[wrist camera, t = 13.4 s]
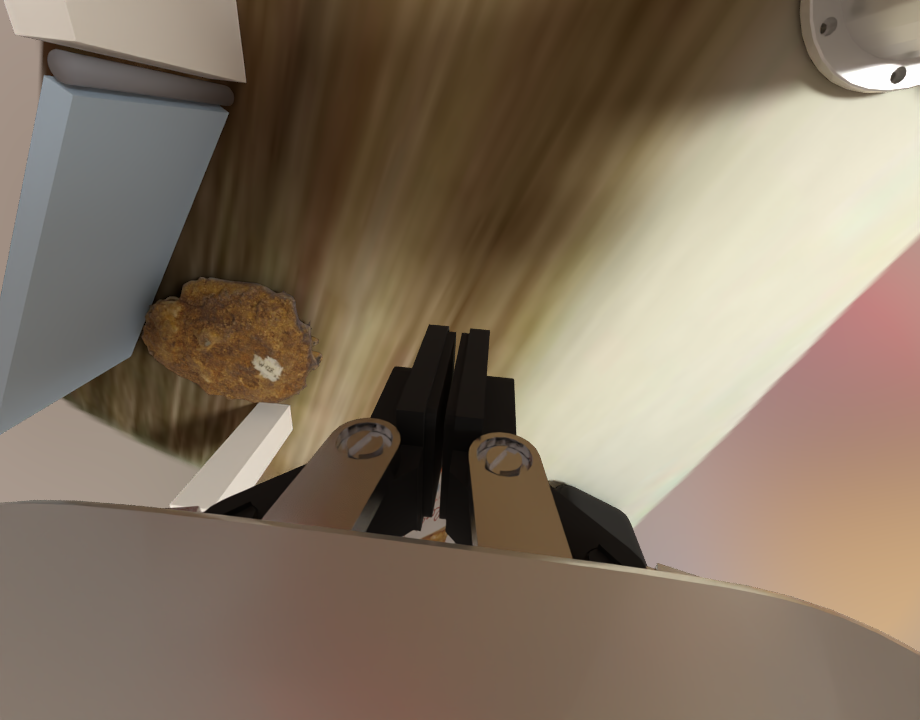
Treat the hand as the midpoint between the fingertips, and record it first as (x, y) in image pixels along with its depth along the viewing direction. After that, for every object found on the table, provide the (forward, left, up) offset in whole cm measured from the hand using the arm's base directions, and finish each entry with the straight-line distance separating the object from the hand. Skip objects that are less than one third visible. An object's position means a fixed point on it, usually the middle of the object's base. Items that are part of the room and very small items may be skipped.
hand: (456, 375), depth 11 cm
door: (+22, +12, -22) cm, 33 cm away
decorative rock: (+15, +18, -23) cm, 33 cm away
